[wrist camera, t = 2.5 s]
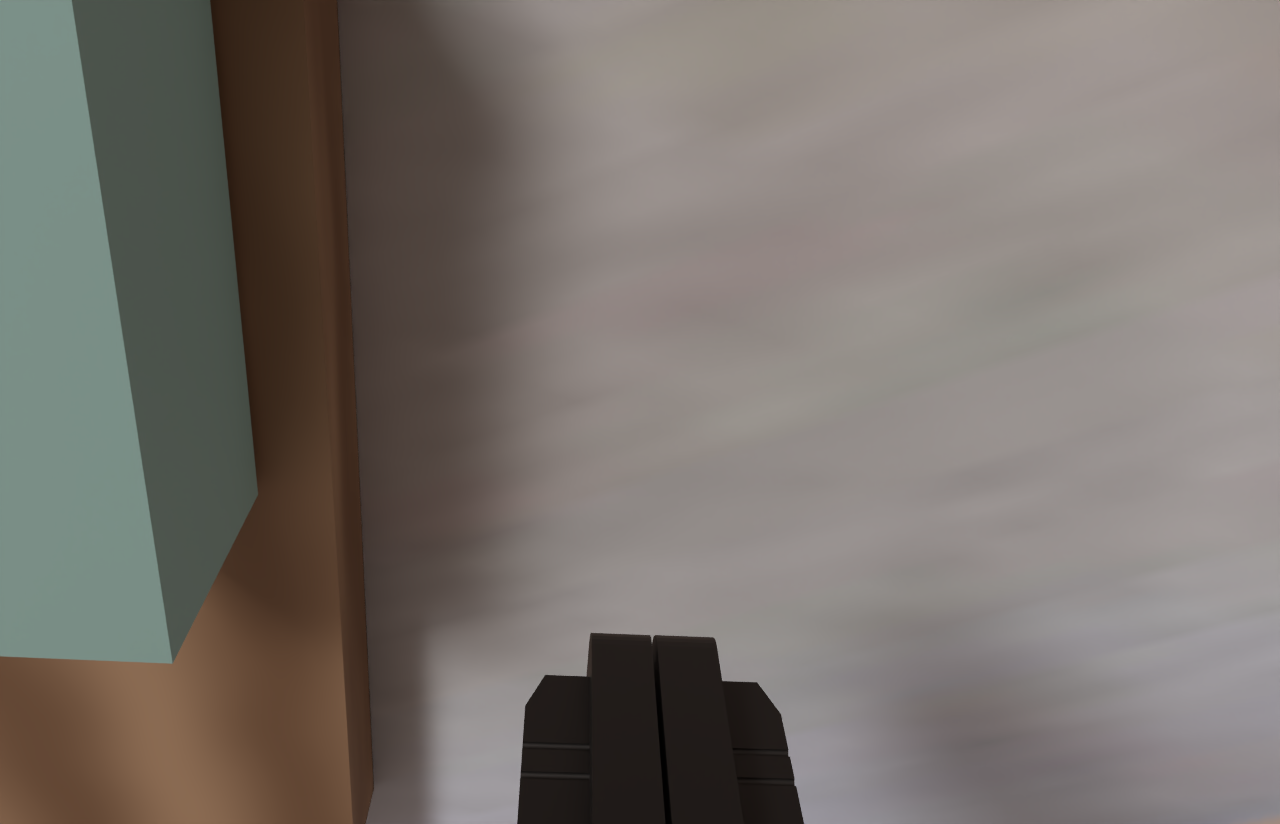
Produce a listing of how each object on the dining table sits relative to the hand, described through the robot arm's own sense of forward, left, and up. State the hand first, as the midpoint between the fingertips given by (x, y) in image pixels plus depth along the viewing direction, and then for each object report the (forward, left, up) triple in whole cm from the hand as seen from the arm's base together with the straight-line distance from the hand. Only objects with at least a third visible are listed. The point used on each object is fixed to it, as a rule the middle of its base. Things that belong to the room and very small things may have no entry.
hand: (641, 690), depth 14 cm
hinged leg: (+9, -4, -9) cm, 13 cm away
